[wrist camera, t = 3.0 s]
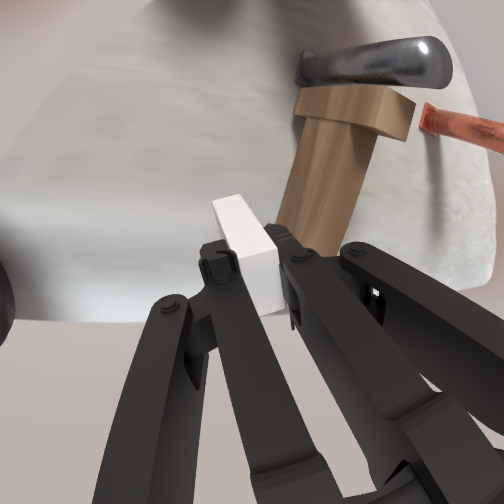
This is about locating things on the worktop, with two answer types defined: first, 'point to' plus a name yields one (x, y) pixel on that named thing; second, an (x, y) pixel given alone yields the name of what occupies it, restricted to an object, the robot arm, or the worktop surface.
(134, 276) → the worktop surface
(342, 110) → the gate
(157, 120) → the worktop surface
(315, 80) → the gate posts
